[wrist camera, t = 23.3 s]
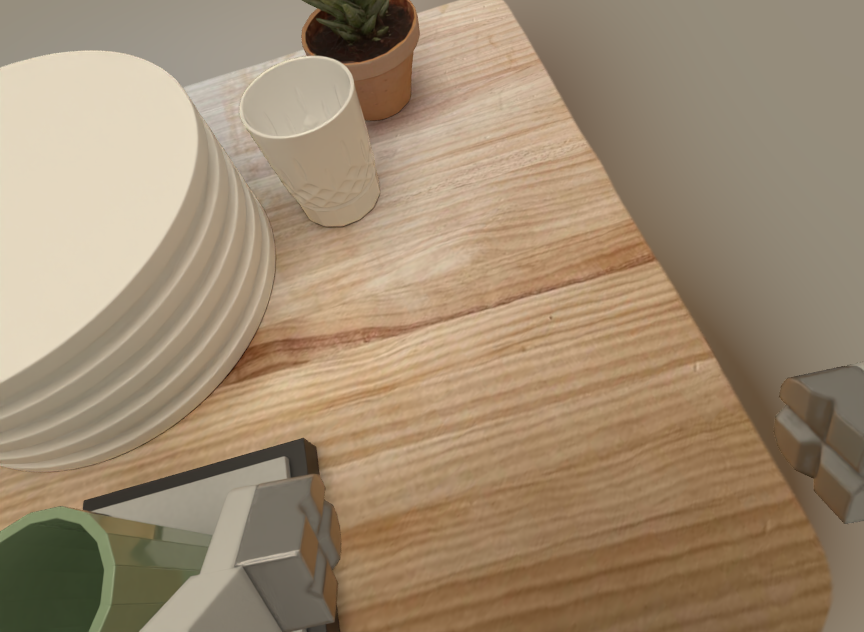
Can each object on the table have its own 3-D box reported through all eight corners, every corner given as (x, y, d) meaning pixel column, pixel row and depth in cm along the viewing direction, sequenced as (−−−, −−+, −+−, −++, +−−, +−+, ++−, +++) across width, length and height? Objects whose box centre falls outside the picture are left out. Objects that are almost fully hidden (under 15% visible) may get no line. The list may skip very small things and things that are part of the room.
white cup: (391, 223, 41) (357, 123, 32) (295, 242, 41) (235, 149, 33) (383, 151, 45) (350, 44, 36) (295, 170, 45) (241, 69, 36)
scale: (316, 446, 33) (299, 434, 31) (350, 711, 26) (332, 723, 24) (108, 505, 33) (74, 498, 31) (89, 783, 27) (44, 803, 24)
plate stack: (-116, 339, 43) (-309, 263, 33) (142, 124, 51) (50, 11, 41) (56, 563, 32) (-154, 551, 22) (347, 245, 40) (290, 131, 30)
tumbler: (268, 581, 27) (149, 576, 18) (180, 705, 25) (-2, 766, 16) (189, 508, 30) (50, 474, 21) (102, 616, 28) (-91, 628, 19)
